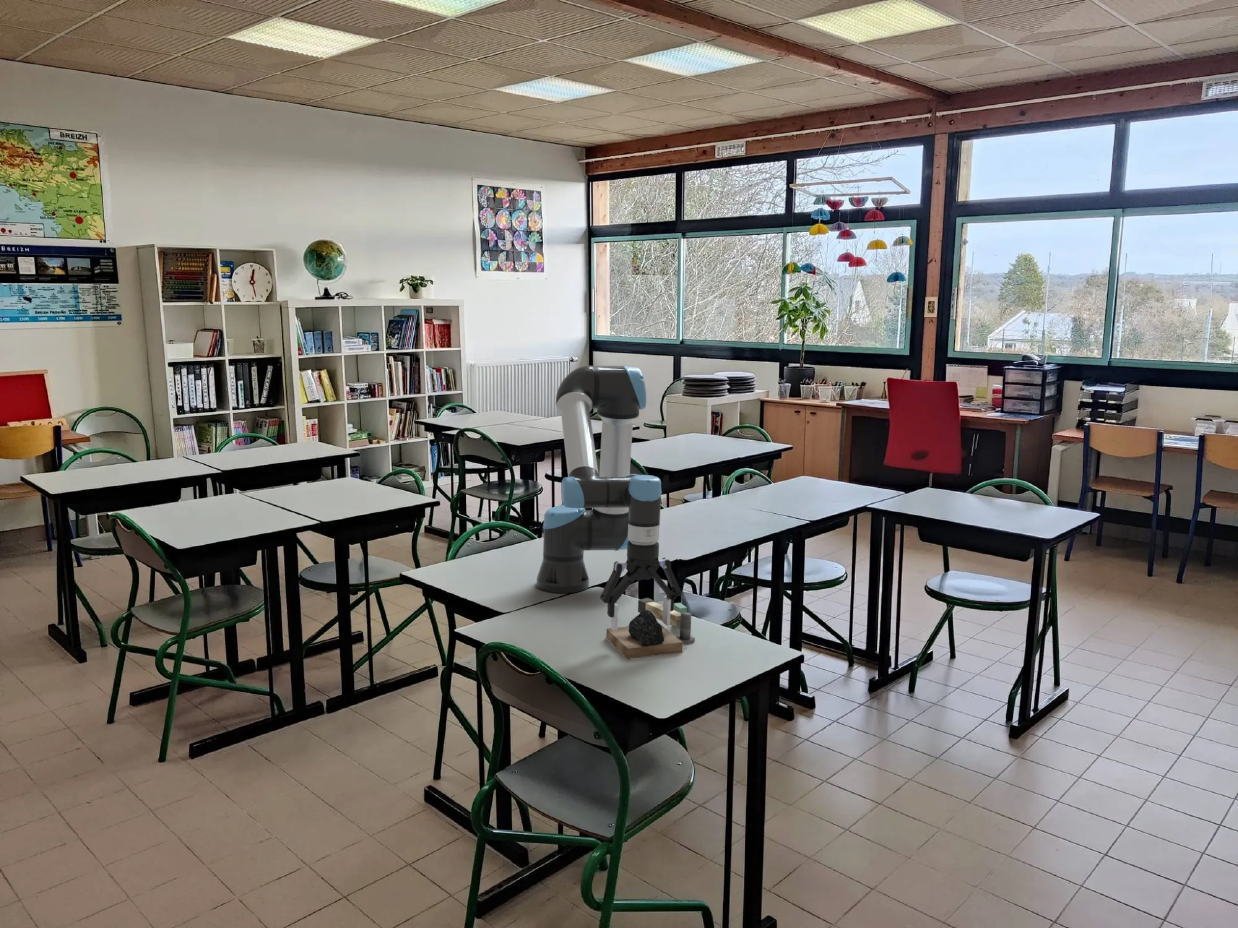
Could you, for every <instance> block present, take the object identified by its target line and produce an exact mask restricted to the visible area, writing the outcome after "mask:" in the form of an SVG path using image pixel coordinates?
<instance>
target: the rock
mask: <svg viewBox="0 0 1238 928" xmlns="http://www.w3.org/2000/svg"><path fill="white" fill-rule="evenodd" d="M660 624H661V623H660ZM660 624H659V622H658V619H656V618H655V616H654V615H653V614H652V612H651V611H649V610H645V611H643V612H641V613H638V614H637V616H635V617H634V618H632V619H631V620H630V622H629V624H628V626H629V633H630V635H631V637H632V638H634V639H636V640H637V641H639V642H640V643H641V644H642V645H644V646H646V647H647V646H649V645H650V644H654V643H656V644H658V643H662V642H664V636H663V632H662V627H661V626H660Z"/></svg>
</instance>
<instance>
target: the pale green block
mask: <svg viewBox="0 0 1238 928" xmlns="http://www.w3.org/2000/svg"><path fill="white" fill-rule="evenodd" d="M673 610H674V611H677V612H679V613H683V612H688V607H687V606H686V605H684V604H682V603H681V602H674V609H673ZM674 628H675V629H676V630H678V631H680V627H674Z"/></svg>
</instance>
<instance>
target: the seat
mask: <svg viewBox="0 0 1238 928" xmlns="http://www.w3.org/2000/svg"><path fill="white" fill-rule="evenodd" d="M658 623H659V622H658ZM659 624H660V626H661V627H662V632H663V636H664V642H662V643H658V644H656V643H654V644H650V645H649V646H647V647H646V646H644V645H642V644H641V643H640V642H639V641H637V640H636V639H634V638H632V637H631V635H630V633H629V625H628V626H618V628H617V631H615V632H614V631H613V630H612V629H611V628H610V627H609V628H606V635H605V636H606V637H605V638H606V640H608V642H609V643H610V644H612V646H614V647H615V649H617V651H619V652H620V653H621V654H622V655H623V656H624V657H625V659H627V660H628V659H629V660H631V659H637V658H638V659H639V658H645V657H646V658H648V657H654V656H664V655H671V654H678V653H683V645H691V644H694V643H695V642H696V638H695V637H694V636H693V635H692V633H691V632H692V629H691V628H692V613H691V612H688V611H687V612H683V613H681V621H680V630H679V634H678V635H675V634H673V633H672V632H671V631H669V630H668V629H667V628H666V627H664V626H663V625H662V624H661V623H659Z"/></svg>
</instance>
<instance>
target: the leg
mask: <svg viewBox="0 0 1238 928" xmlns="http://www.w3.org/2000/svg"><path fill="white" fill-rule="evenodd" d="M637 601H638V602H637V604H638V605H637V606H638V607H637V613H638V614H640V613H641V612H643V611H645V610H649V611H651V612H652V614H653V615H654V616H655V618H656V620H658V621H661V622H662V621H663V604H660V603H658V602H655V601H654V599H651V598H649V597H645V598H641V599H638V600H637ZM680 621H681V613H679V612H677V611H674V610H673V611H670V626H673V627H674V628H675V627H680Z"/></svg>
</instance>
